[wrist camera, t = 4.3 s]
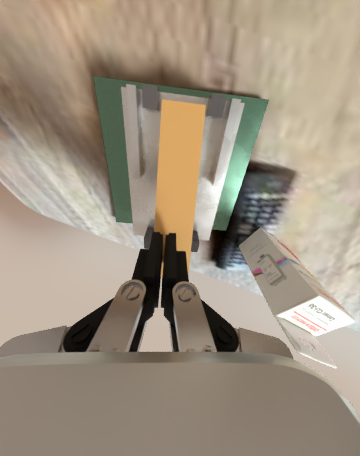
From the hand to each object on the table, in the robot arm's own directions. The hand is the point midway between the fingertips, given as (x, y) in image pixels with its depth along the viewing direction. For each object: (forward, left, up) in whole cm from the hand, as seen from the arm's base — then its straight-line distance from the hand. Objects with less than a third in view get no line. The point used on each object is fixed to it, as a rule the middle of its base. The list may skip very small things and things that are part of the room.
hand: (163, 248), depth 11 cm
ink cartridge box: (+8, +17, -11) cm, 22 cm away
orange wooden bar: (-3, +1, -3) cm, 4 cm away
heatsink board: (-3, +1, -11) cm, 11 cm away
